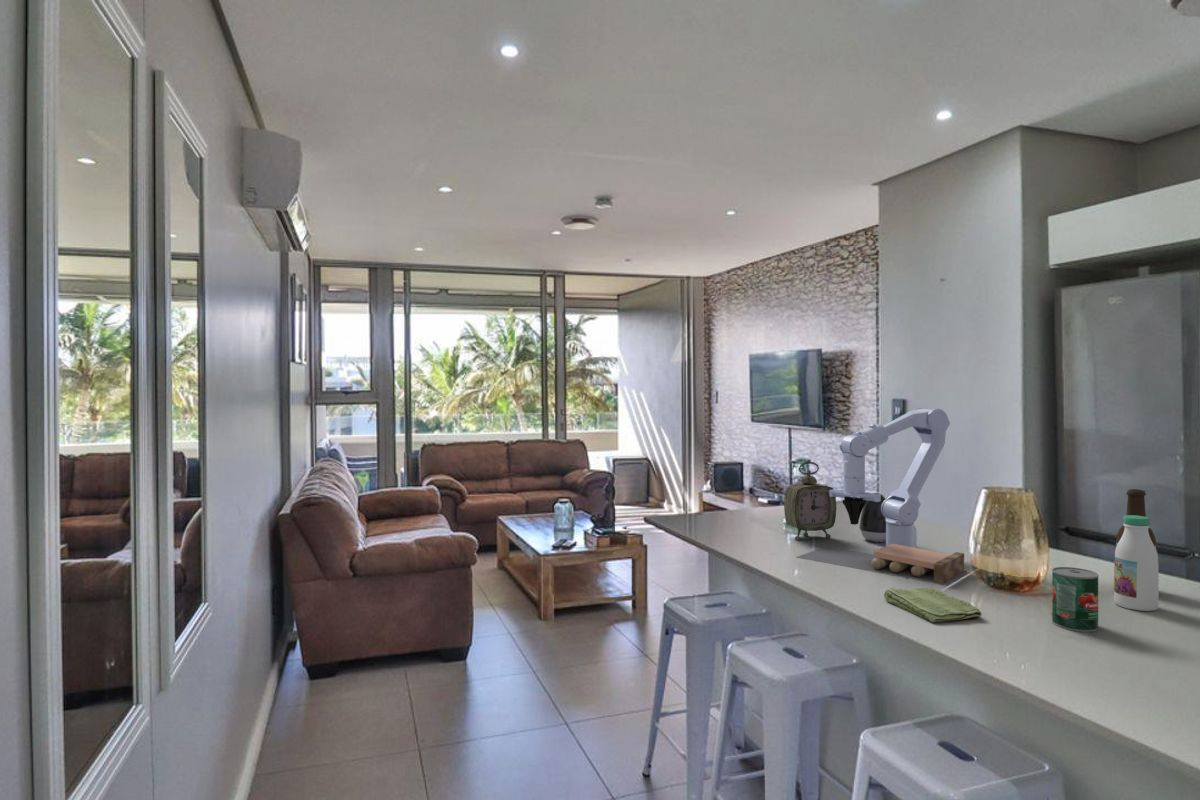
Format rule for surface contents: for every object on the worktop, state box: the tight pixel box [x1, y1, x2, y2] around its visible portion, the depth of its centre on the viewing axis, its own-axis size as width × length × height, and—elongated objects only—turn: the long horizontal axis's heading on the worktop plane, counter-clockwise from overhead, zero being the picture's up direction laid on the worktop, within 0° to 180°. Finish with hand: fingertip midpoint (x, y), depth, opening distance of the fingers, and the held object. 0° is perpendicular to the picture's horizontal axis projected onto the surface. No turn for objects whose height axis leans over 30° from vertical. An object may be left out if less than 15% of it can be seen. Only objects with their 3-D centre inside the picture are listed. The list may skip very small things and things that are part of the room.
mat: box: [796, 545, 968, 586], centre depth 189 cm, size 18×40×1 cm, turn 45°
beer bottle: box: [1115, 488, 1157, 549], centre depth 164 cm, size 8×8×24 cm
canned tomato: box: [1051, 566, 1099, 633], centre depth 141 cm, size 8×8×11 cm
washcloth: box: [883, 587, 983, 624], centre depth 152 cm, size 13×18×3 cm
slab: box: [873, 544, 951, 569], centre depth 182 cm, size 12×16×2 cm
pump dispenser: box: [858, 492, 887, 543], centre depth 218 cm, size 10×10×15 cm
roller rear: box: [871, 558, 893, 569], centre depth 187 cm, size 14×3×3 cm, turn 135°
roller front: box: [889, 561, 913, 573], centre depth 183 cm, size 14×3×3 cm
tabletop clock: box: [783, 461, 837, 541], centre depth 222 cm, size 14×9×25 cm, turn 102°
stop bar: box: [934, 551, 965, 583], centre depth 176 cm, size 16×2×5 cm, turn 135°
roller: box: [911, 565, 933, 577], centre depth 179 cm, size 13×3×3 cm
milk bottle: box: [1113, 515, 1160, 612], centre depth 152 cm, size 8×8×20 cm
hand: (854, 523), depth 199 cm, fingers closed
